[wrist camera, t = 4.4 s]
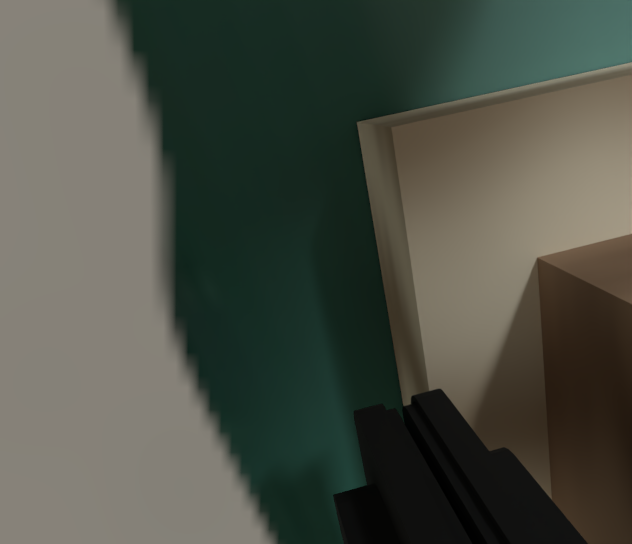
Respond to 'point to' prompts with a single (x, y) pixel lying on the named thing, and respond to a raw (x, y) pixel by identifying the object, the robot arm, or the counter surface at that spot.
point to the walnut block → (590, 385)
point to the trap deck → (493, 237)
